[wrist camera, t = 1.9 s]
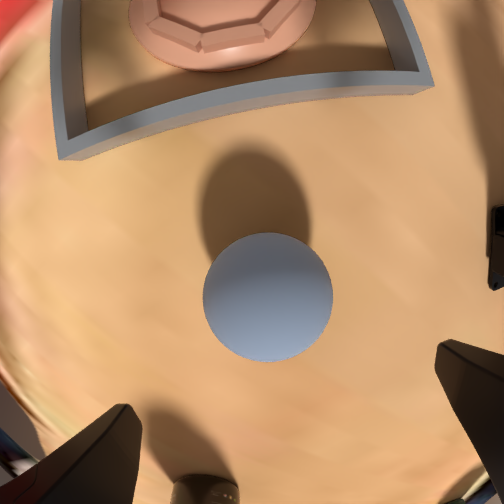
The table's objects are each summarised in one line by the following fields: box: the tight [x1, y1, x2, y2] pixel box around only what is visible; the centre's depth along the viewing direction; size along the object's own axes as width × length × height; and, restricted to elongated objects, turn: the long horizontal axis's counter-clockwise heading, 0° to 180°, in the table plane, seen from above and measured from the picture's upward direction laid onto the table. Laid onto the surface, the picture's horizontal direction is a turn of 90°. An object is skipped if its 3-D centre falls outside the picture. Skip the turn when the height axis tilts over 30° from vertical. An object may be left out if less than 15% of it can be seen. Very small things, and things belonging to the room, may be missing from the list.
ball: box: [203, 233, 333, 362], centre depth 14 cm, size 6×6×6 cm
